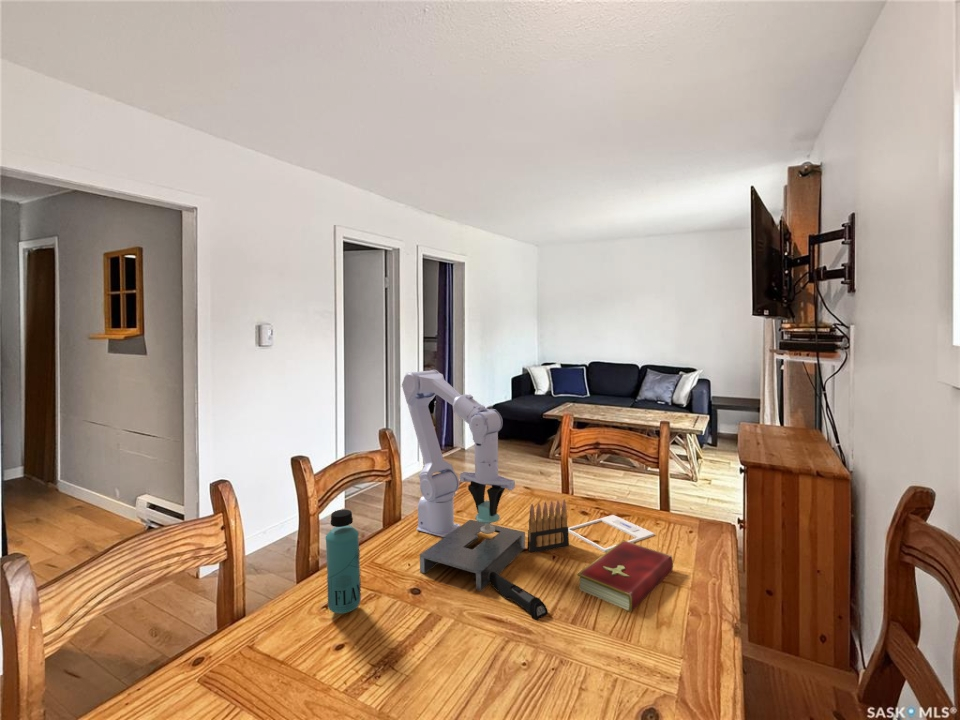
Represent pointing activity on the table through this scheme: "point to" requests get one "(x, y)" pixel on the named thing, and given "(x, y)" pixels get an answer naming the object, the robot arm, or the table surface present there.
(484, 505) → the peg
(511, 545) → the keyhole plate
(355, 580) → the beverage bottle
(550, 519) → the ammunition clip
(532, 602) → the electric trimmer
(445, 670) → the table surface
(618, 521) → the photo frame
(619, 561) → the hardcover book
